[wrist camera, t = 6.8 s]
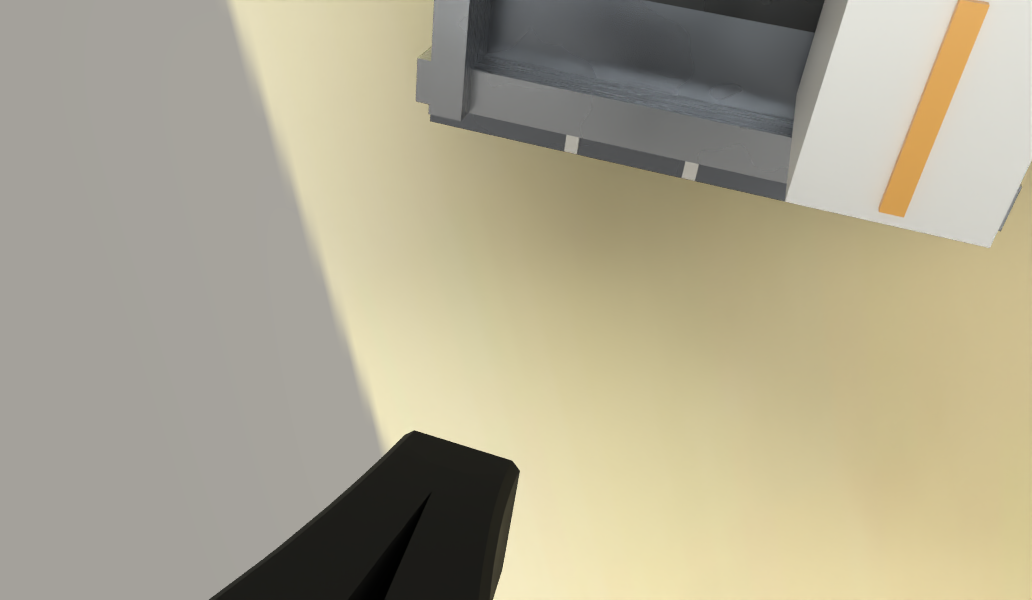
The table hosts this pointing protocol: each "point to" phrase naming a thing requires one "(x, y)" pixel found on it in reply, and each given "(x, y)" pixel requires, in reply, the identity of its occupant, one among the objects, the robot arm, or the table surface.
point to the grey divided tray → (630, 81)
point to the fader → (916, 114)
